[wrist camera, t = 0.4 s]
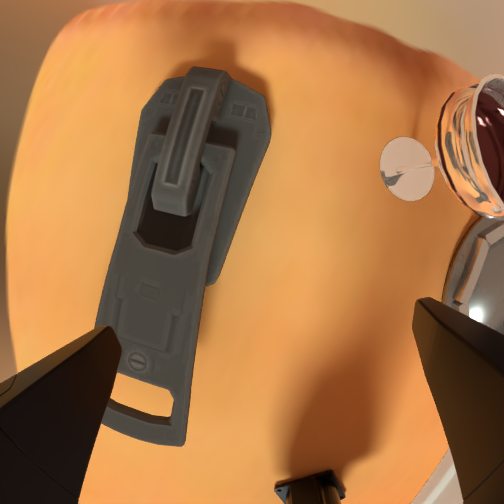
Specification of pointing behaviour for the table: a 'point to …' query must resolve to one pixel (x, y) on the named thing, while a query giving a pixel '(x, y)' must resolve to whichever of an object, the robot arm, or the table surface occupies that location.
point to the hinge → (441, 485)
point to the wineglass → (457, 151)
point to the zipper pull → (178, 234)
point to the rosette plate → (479, 274)
